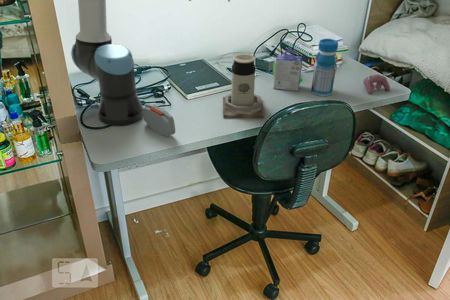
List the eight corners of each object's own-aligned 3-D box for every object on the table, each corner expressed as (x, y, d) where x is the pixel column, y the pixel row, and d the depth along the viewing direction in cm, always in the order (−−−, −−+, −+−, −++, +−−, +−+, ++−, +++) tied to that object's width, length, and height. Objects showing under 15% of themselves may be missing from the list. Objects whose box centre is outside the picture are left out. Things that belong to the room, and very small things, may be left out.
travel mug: (233, 99, 162) (234, 52, 152) (254, 101, 161) (257, 54, 151) (229, 109, 155) (230, 61, 145) (251, 111, 154) (254, 63, 144)
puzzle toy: (274, 77, 182) (275, 64, 178) (272, 72, 186) (273, 59, 183) (288, 78, 182) (289, 64, 179) (286, 72, 186) (287, 59, 183)
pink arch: (383, 91, 176) (382, 73, 175) (391, 90, 171) (389, 72, 171) (362, 94, 173) (360, 76, 172) (370, 94, 169) (368, 76, 168)
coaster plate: (223, 117, 153) (223, 108, 151) (222, 99, 164) (223, 90, 162) (263, 117, 153) (264, 108, 151) (260, 99, 164) (261, 91, 163)
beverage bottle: (318, 98, 166) (325, 46, 155) (306, 89, 173) (312, 39, 162) (337, 94, 169) (345, 43, 158) (324, 85, 175) (331, 36, 165)
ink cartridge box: (299, 85, 175) (303, 50, 168) (298, 91, 171) (302, 55, 163) (274, 83, 177) (277, 48, 169) (273, 89, 172) (275, 53, 165)
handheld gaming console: (176, 137, 141) (175, 115, 137) (169, 140, 140) (168, 118, 135) (149, 121, 150) (147, 100, 145) (141, 124, 148) (139, 102, 144)
